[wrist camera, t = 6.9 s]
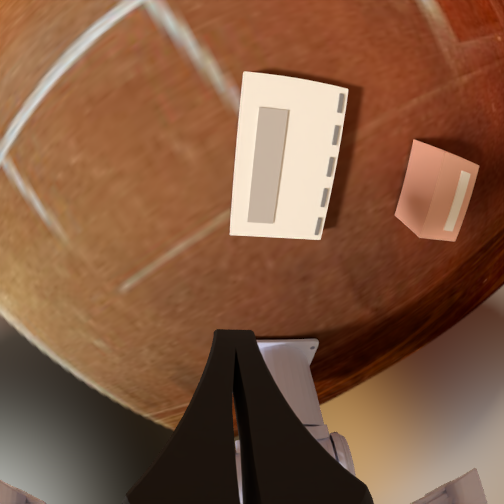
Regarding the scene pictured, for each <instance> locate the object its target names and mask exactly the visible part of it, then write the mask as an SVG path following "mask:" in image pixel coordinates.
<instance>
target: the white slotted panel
mask: <svg viewBox="0 0 504 504" xmlns="http://www.w3.org/2000/svg"><path fill="white" fill-rule="evenodd" d="M347 97H348V89H346V88H342V87H338V86H334V85H330V84H325V83H320V82H315V81H310V80H305V79H299V78H293V77H287V76H280V75H273V74H264V73H255V72H244V73H243V80H242V90H241V100H240V110H239V121H238V132H237V143H236V155H235V167H234V179H233V192H232V206H231V220H230V235H239V236H259V237H278V238H296V239H313V240H321V235H322V231H323V227H324V222H325V218H326V213H327V209H328V204H329V199H330V195H331V190H332V185H333V180H334V175H335V170H336V164H337V159H338V153H339V148H340V142H341V136H342V130H343V124H344V117H345V111H346V104H347Z"/></svg>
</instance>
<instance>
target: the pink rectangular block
mask: <svg viewBox="0 0 504 504" xmlns="http://www.w3.org/2000/svg"><path fill="white" fill-rule="evenodd" d="M478 169H479V165H477V164H475V163H472V162H470V161H468V160H466V159H464V158H461V157H459V156H457V155H454V154H452V153H450V152H447V151H445V150H442V149H439V148H437V147H434V146H431V145H429V144H426V143H423V142H420V141H417V140H413V145H412V150H411V154H410V159H409V163H408V168H407V172H406V176H405V180H404V184H403V188H402V191H401V195H400V199H399V202H398V206H397V209H396V212H395V216H396V217H397V218H398V219H399V220H401V221H402V222H403V223H404V224H405V225H406V226H407V227H408V228H409V229H411V230H412V231H413V232H414V233H415V234H416V235H417V236H418V237H419V238H428V239H437V240H446V241H455V240H456V238H457V235H458V233H459V230H460V227H461V225H462V222H463V219H464V216H465V213H466V210H467V207H468V204H469V201H470V198H471V195H472V191H473V188H474V184H475V181H476V177H477V173H478Z"/></svg>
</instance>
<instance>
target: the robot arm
mask: <svg viewBox="0 0 504 504" xmlns="http://www.w3.org/2000/svg"><path fill="white" fill-rule="evenodd" d="M318 345H319V341H318V339H287V340H256V338H255V335H254V332H253V331H252V330H223V329H217V330H215V331H214V337H213V342H212V347H211V351H210V354H209V357H208V360H207V363H206V366H205V369H204V371H203V374H202V377H201V379H200V382H199V384H198V386H197V388H196V391H195V393H194V395H193V397H192V399H191V402H190V404H189V405H188V407H187V409H186V411H185V413H184V415H183V417H182V419H181V420H180V422H179V424H178V426H177V427H176V429H175V430H174V432H173V434H172V435H171V437H170V439H169V440H168V442H167V443H166V445H165V446H164V448H163V449H162V451H161V452H160V453H159V454H158V456H157V457H156V459H155V460H154V461H153V463H152V464H151V465H150V467H149V468H148V469H147V470H146V472H145V473H144V474H143V475H142V476H141V478H140V479H139V480H138V481H137V482H136V483H135V484H134V486H132V488H131V489H130V490H129V491H128V492H127V493H126V496H125V498H124V500H123V502H122V504H374V503H373V499H372V497H371V494H370V492H369V490H368V487H367V486H366V485H365V484H364V483H363V482H362V481H360V480H359V479H358V478H356V477H355V470H354V464H353V460H352V456H351V452H350V449H349V446H348V443H347V441H346V439H345V437H344V436H342V435H340V434H338V433H337V432H333V433H330V436H329V432H328V428H327V425H324V422H323V418H322V414H321V410H320V406H319V402H318V398H317V394H316V390H315V386H314V382H313V379H312V375H311V371H310V367H309V366H310V364H311V362H312V359H313V357H314V354H315V352H316V350H317V347H318ZM232 393H233V397H234V405H235V412H236V419H237V426H238V433H239V440H237V441H236V450H235V444H234V431H233V415H232ZM0 504H46V503H45V502H44V501H42V500H40V499H38V498H36V497H34V496H32V495H30V494H28V493H27V492H25V491H22V490H20V489H18V488H15V487H13V486H11V485H9V484H7V483H5V482H3V481H2V480H0ZM410 504H487V501H486V497H485V494H484V490H483V487H482V484H481V481H480V478H479V475H478V472H477V469H476V468H474V469H472V470H471V471H469V472H467V473H466V474H464V475H462V476H460V477H459V478H457V479H455V480H453V481H450V482H448V483H446V484H444V485H442V486H440V487H438V488H436V489H435V490H433V491H431V492H429V493H427V494H426V495H425V496H424V497H423V498H421V499H419V500H416V501H414V502H413V503H410Z"/></svg>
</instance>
